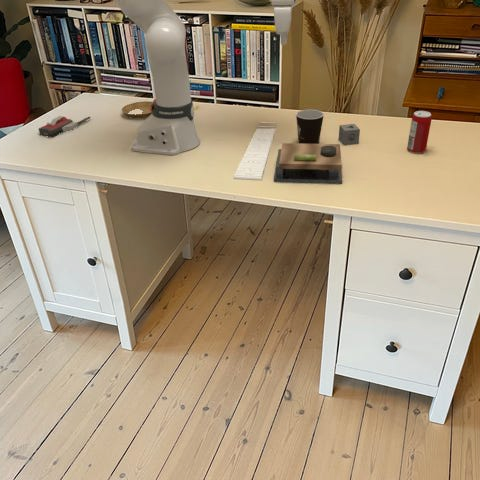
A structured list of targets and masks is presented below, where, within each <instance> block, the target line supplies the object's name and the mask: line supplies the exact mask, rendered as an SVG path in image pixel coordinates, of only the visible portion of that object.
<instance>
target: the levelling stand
mask: <svg viewBox="0 0 480 480" xmlns="http://www.w3.org/2000/svg"><path fill="white" fill-rule="evenodd" d="M280 155H281V148H280V149H279V148H278V151H277V156H276V160H275V161H276V162H275V168H274V174H273V183H290V184H291V183H294V184H296V183H298V184H304V183H306V184H328V185H329V184H330V185H332V184H333V185H334V184H336V185H341V184H343V171H342V169H341V170H322V169H279V162H280Z"/></svg>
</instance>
